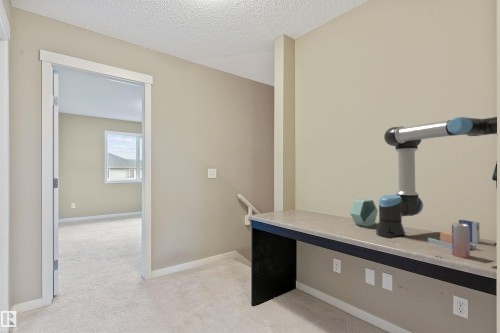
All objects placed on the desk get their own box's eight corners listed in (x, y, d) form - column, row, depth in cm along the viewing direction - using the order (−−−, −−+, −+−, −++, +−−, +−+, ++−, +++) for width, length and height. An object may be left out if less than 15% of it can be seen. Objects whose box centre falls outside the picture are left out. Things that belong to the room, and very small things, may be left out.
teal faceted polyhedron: (368, 232, 173) (356, 209, 168) (358, 230, 180) (347, 207, 175) (380, 216, 180) (370, 193, 175) (370, 215, 187) (360, 192, 182)
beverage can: (449, 256, 114) (448, 223, 114) (463, 256, 114) (462, 223, 114) (458, 261, 108) (458, 226, 108) (473, 261, 108) (473, 226, 108)
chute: (427, 244, 131) (427, 238, 131) (441, 242, 134) (441, 236, 134) (461, 255, 115) (461, 247, 116) (477, 252, 119) (477, 244, 119)
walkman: (459, 241, 135) (458, 219, 135) (461, 241, 136) (461, 219, 136) (477, 246, 128) (476, 222, 128) (480, 245, 129) (479, 221, 129)
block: (440, 244, 127) (440, 232, 127) (448, 243, 129) (448, 231, 129) (453, 248, 121) (453, 235, 121) (461, 246, 123) (461, 234, 123)
